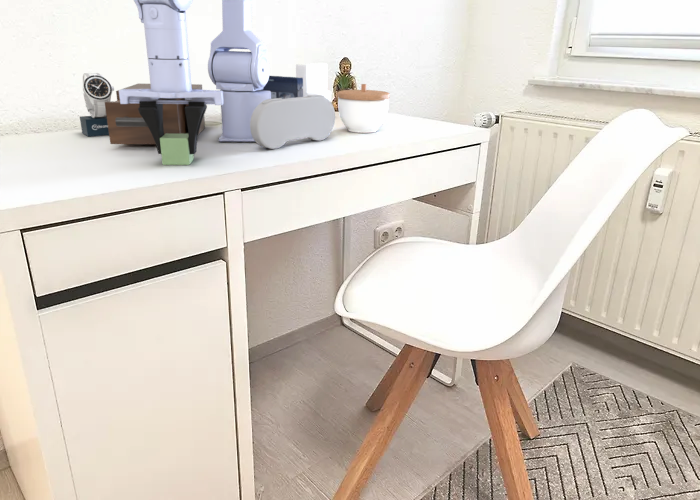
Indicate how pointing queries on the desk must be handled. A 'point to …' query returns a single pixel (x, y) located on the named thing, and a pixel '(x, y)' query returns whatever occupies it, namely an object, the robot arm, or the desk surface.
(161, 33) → the robot arm
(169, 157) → the block
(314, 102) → the game controller
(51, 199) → the desk surface
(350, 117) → the trinket box
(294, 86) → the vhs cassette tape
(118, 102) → the drawer
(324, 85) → the base with upright slab
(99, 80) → the watch
